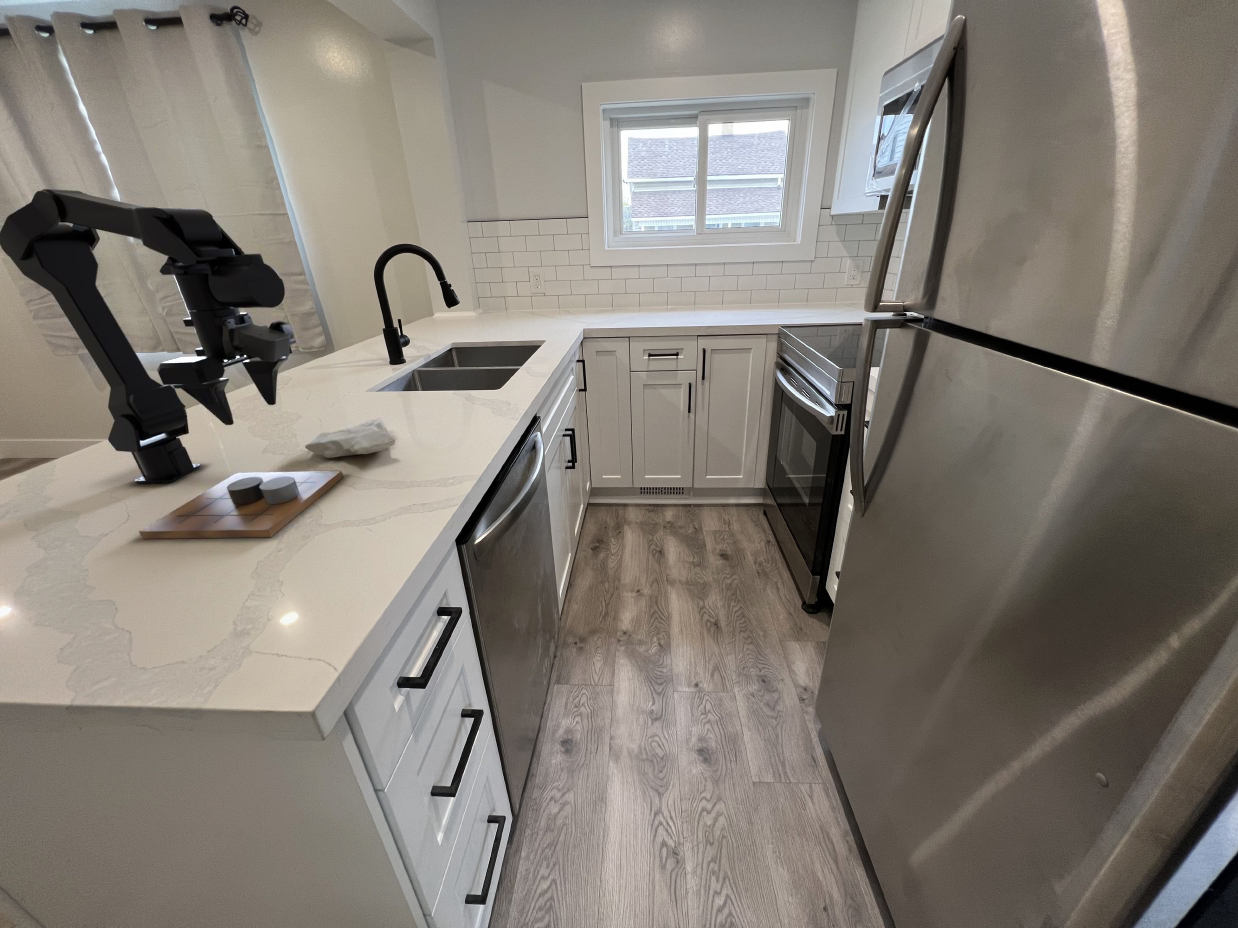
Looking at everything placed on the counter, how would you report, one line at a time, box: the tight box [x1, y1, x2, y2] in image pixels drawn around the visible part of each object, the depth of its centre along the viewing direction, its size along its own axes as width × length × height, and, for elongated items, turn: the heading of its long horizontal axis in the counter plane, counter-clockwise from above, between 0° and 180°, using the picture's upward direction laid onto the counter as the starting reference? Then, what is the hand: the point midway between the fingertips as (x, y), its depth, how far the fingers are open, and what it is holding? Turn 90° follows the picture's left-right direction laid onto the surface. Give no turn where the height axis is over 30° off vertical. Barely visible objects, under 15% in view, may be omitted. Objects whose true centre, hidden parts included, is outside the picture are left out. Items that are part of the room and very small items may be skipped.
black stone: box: [227, 477, 264, 505], centre depth 74 cm, size 4×4×2 cm
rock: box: [304, 417, 396, 459], centre depth 92 cm, size 21×5×15 cm
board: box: [138, 470, 344, 540], centre depth 74 cm, size 18×18×1 cm
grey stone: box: [260, 476, 299, 504], centre depth 73 cm, size 4×4×2 cm
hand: (252, 414), depth 76 cm, fingers open, 9 cm apart
